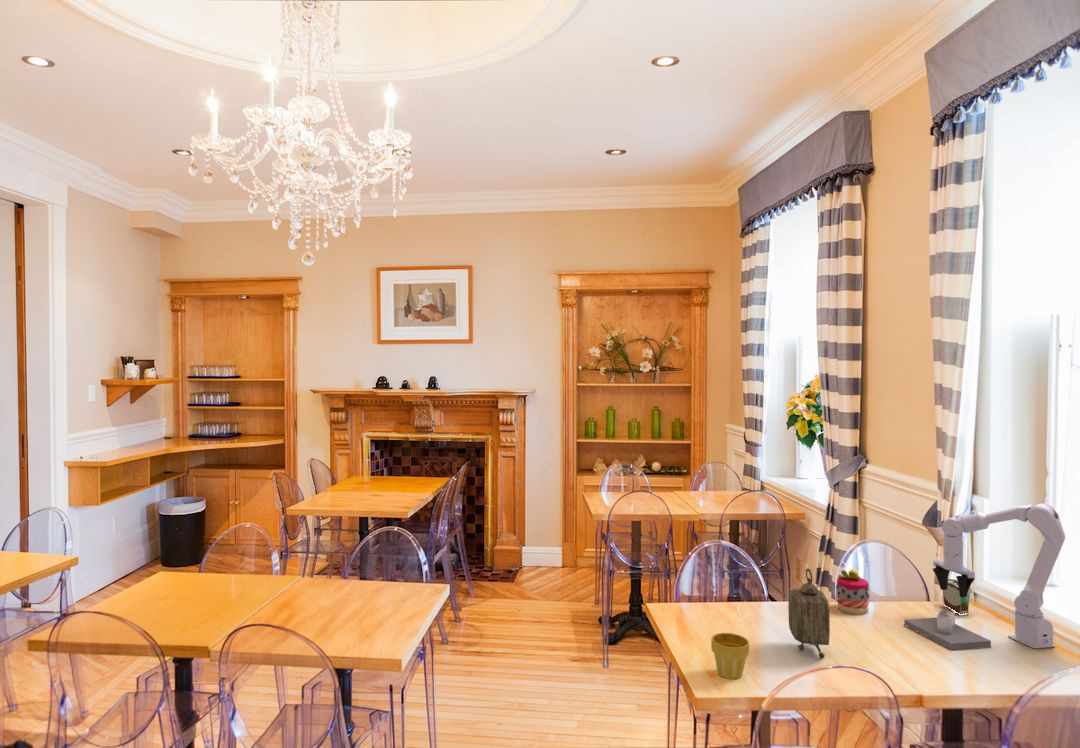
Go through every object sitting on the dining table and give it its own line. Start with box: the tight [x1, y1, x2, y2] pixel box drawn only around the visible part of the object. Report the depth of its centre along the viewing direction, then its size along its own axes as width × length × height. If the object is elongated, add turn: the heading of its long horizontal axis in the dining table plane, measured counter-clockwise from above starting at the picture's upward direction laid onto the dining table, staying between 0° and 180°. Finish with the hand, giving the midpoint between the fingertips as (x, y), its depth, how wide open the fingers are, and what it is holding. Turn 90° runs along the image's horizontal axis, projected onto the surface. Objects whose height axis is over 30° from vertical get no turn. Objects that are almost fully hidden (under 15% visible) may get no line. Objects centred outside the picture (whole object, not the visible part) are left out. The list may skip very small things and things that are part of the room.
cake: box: [836, 569, 870, 616], centre depth 232 cm, size 10×11×15 cm
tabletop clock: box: [787, 567, 831, 659], centre depth 198 cm, size 14×9×25 cm, turn 170°
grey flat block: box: [904, 617, 992, 651], centre depth 209 cm, size 20×14×2 cm
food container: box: [942, 578, 973, 614], centre depth 232 cm, size 12×6×10 cm, turn 179°
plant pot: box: [710, 632, 750, 680], centre depth 182 cm, size 10×10×10 cm
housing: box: [936, 609, 956, 634], centre depth 210 cm, size 8×4×5 cm, turn 140°
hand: (953, 593), depth 220 cm, fingers open, 7 cm apart
